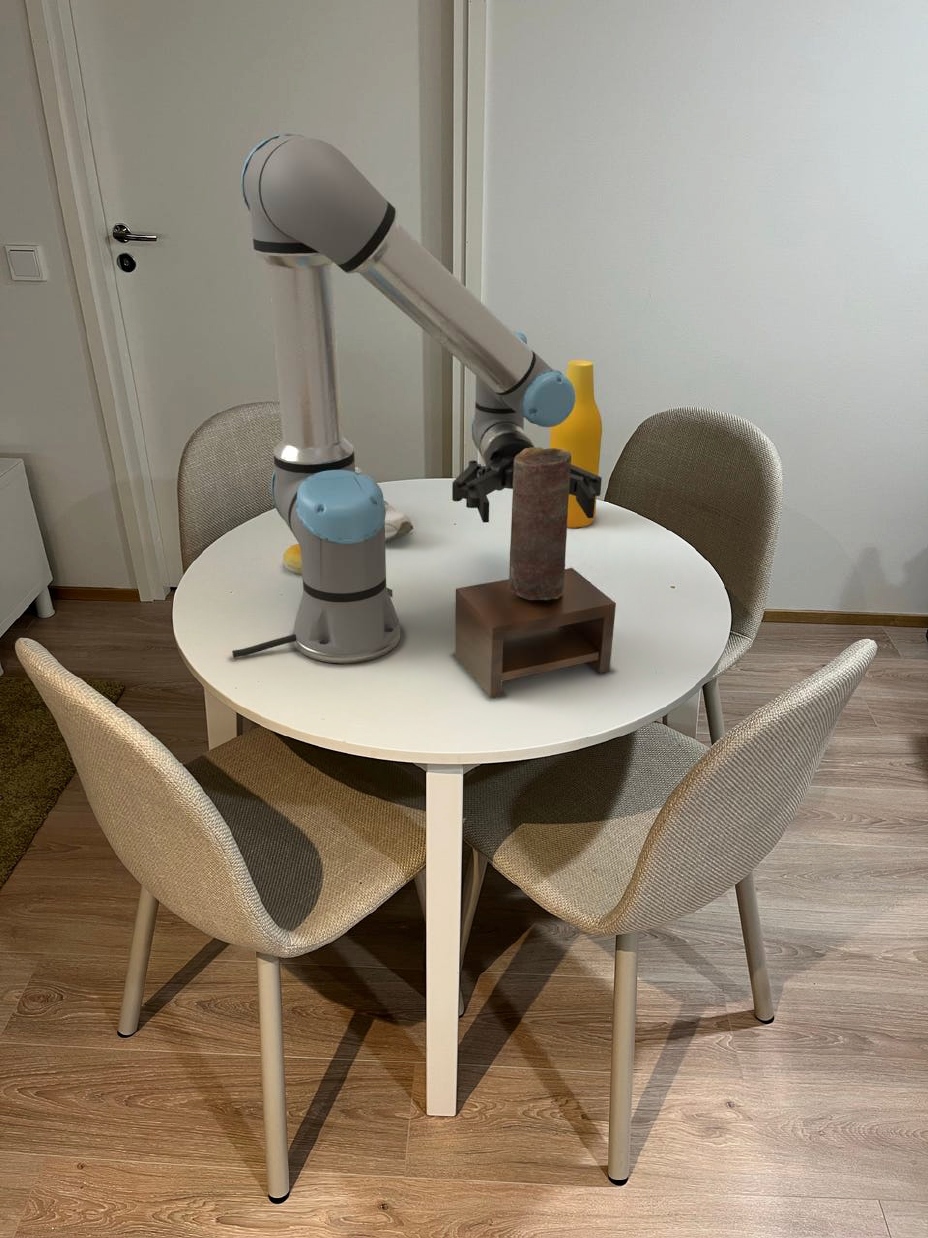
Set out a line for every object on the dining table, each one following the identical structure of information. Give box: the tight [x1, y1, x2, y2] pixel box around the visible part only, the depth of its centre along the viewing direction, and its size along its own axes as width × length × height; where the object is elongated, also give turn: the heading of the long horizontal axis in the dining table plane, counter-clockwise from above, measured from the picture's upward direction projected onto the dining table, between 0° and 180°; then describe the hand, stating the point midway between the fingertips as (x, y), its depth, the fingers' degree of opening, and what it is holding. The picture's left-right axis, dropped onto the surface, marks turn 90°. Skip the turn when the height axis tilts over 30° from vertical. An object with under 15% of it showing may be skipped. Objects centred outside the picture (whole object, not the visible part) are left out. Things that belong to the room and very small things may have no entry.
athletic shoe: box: [355, 466, 414, 542], centre depth 176 cm, size 10×23×12 cm, turn 52°
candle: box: [508, 446, 571, 600], centre depth 126 cm, size 8×7×20 cm
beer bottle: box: [549, 359, 603, 529], centre depth 176 cm, size 9×9×29 cm
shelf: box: [454, 567, 617, 699], centre depth 133 cm, size 18×12×10 cm, turn 113°
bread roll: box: [282, 543, 302, 575], centre depth 162 cm, size 8×9×4 cm
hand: (539, 510), depth 124 cm, fingers open, 13 cm apart
